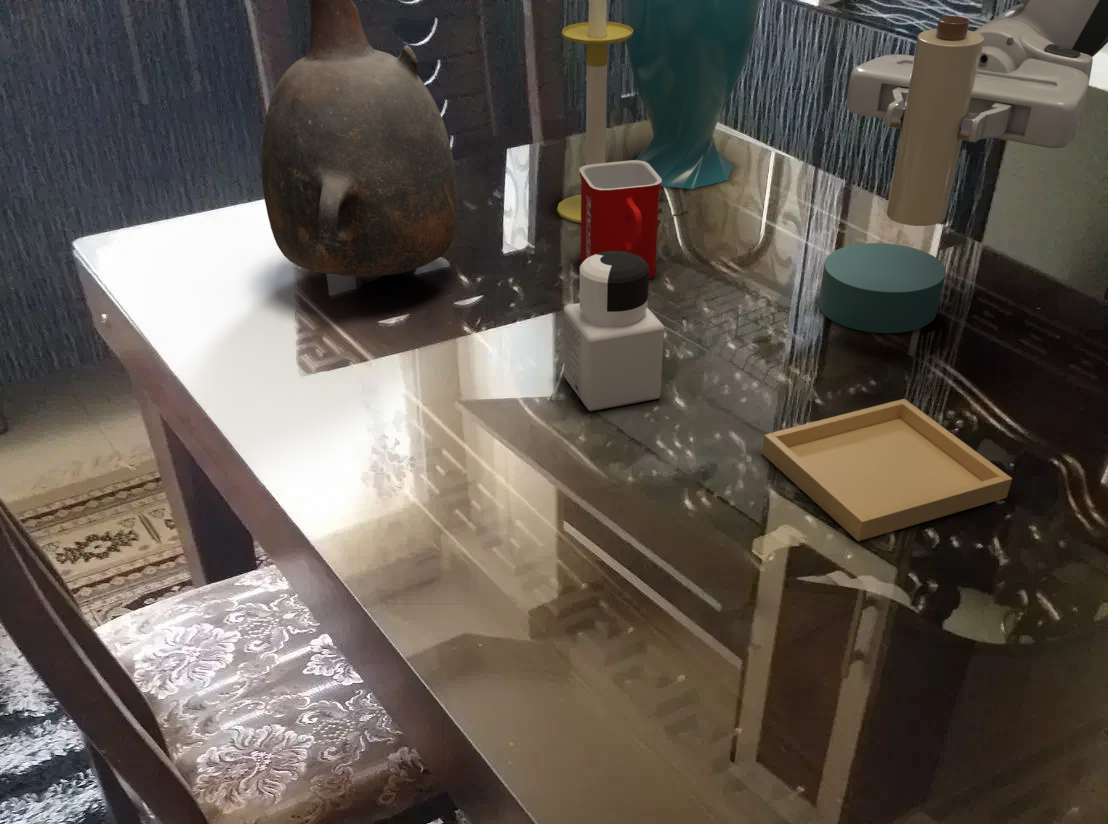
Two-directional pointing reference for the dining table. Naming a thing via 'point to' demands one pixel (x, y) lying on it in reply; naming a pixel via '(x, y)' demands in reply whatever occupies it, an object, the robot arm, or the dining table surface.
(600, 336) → the container
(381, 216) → the jug
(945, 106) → the canister
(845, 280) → the stand
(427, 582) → the dining table surface
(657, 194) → the mug
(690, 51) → the vase
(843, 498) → the tray
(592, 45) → the candle
